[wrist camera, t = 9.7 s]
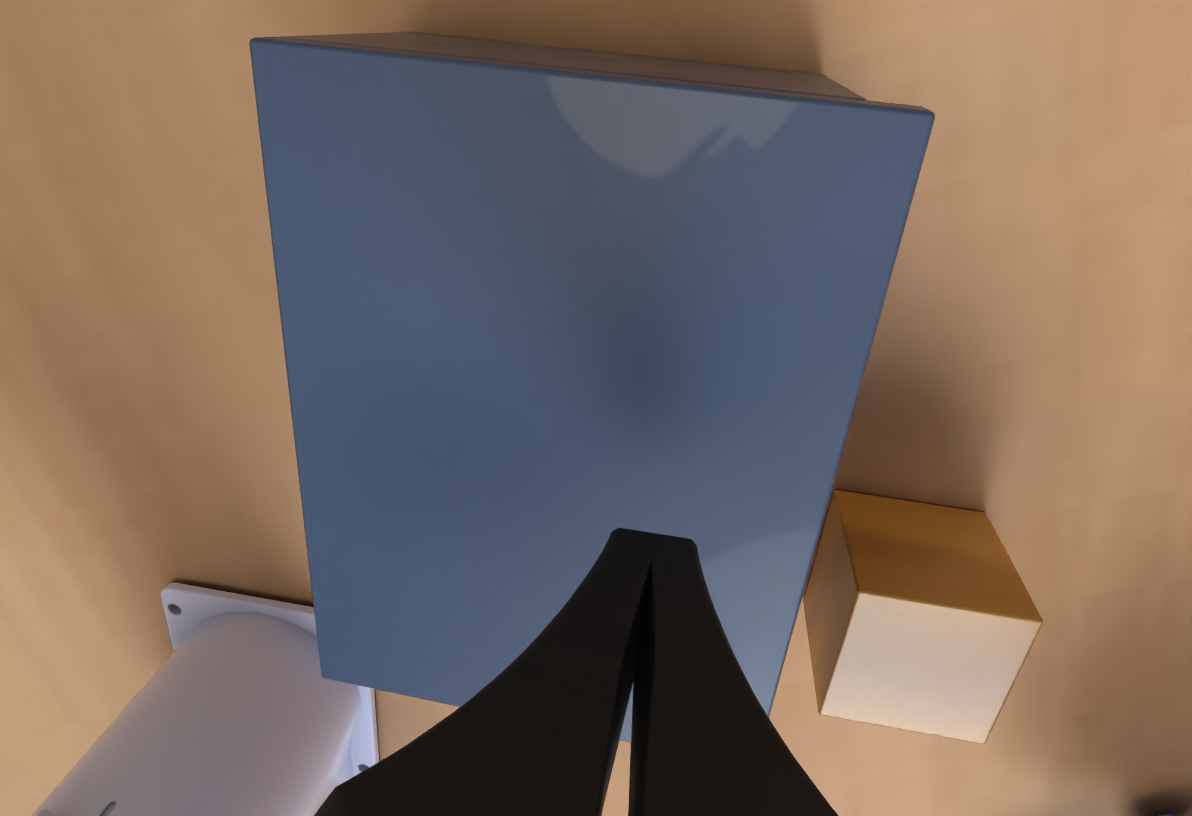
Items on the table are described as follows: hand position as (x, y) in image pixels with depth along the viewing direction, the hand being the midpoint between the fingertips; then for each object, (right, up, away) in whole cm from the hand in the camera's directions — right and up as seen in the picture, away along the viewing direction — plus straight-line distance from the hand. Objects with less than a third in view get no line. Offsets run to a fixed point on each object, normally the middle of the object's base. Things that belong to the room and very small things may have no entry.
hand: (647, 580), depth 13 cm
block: (+8, -2, +11) cm, 14 cm away
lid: (-2, +2, +3) cm, 4 cm away
